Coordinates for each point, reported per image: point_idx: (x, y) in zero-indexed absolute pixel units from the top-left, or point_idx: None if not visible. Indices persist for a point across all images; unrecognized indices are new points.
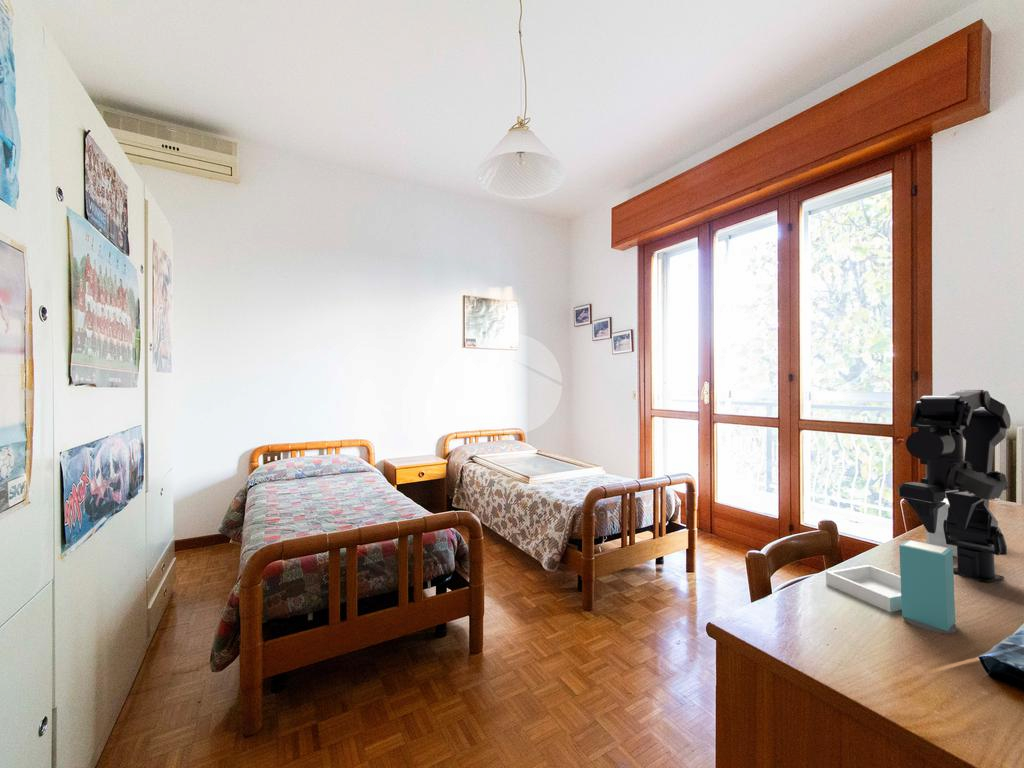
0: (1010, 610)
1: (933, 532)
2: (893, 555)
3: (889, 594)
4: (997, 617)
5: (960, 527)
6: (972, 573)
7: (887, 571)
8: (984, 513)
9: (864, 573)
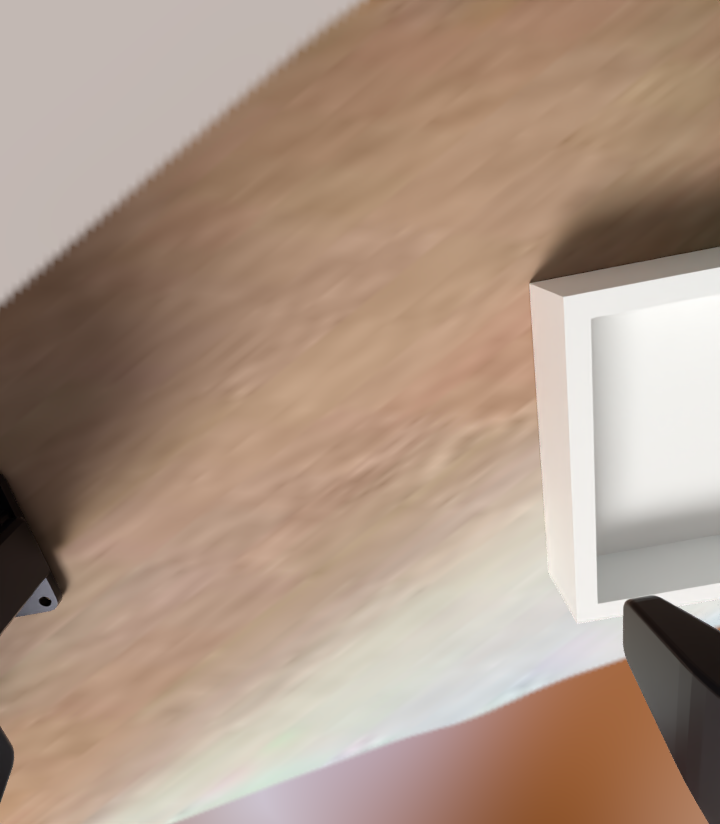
0: (198, 163)
1: (665, 602)
2: (167, 764)
3: (680, 392)
4: (367, 94)
5: (1, 746)
6: (13, 527)
7: (574, 539)
8: None
9: (623, 572)
